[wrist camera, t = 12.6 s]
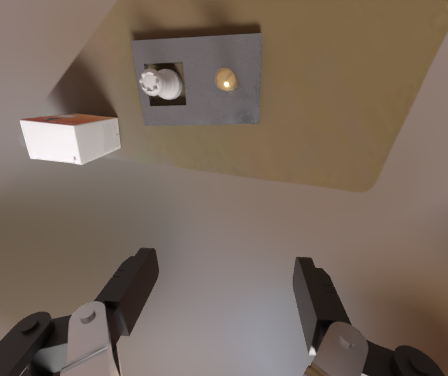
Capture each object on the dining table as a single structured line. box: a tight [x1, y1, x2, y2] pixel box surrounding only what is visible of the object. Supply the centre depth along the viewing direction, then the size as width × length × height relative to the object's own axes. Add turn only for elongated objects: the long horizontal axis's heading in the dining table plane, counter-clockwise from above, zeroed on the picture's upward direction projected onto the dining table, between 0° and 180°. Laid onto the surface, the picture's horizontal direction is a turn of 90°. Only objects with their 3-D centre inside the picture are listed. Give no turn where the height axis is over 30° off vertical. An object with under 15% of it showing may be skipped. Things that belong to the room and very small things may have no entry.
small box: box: [20, 113, 121, 165], centre depth 34 cm, size 8×6×10 cm
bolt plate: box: [131, 33, 262, 126], centre depth 30 cm, size 19×12×10 cm, turn 92°
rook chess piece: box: [139, 68, 182, 100], centre depth 31 cm, size 4×4×8 cm
